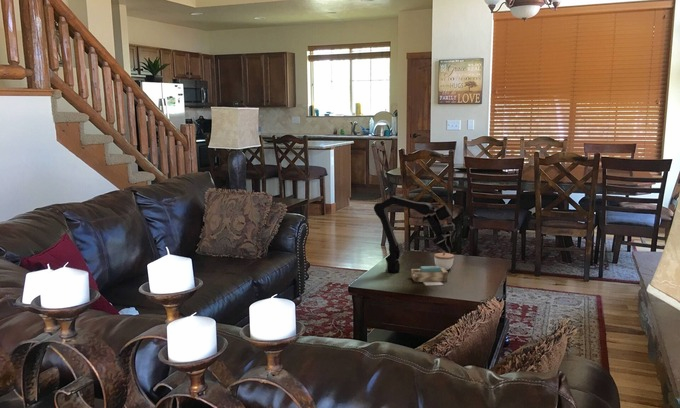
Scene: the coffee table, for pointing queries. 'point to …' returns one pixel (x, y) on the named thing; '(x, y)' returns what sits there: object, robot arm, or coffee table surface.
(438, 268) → the light blue rectangular block
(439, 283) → the mat
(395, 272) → the robot arm
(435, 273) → the wooden tray
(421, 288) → the coffee table surface
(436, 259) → the lidded jar
